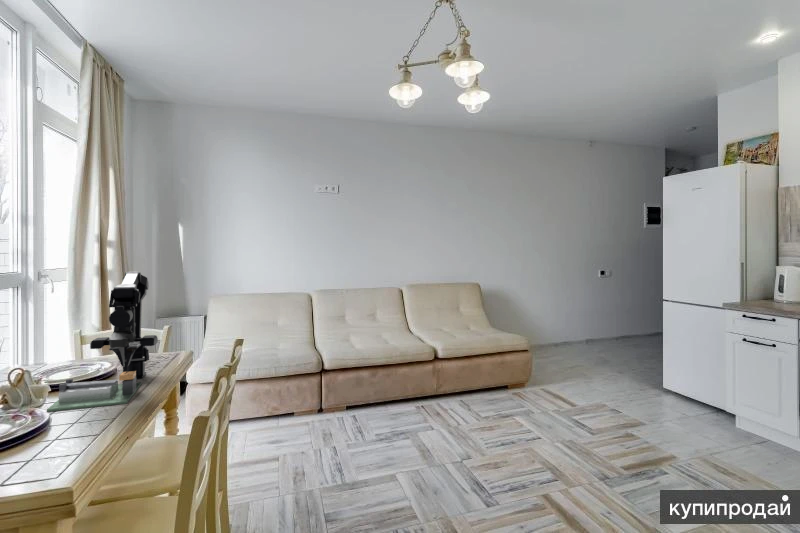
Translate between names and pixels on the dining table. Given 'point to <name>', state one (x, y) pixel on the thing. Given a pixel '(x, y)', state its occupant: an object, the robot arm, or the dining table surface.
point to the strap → (91, 383)
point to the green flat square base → (94, 395)
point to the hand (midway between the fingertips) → (125, 366)
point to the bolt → (127, 375)
